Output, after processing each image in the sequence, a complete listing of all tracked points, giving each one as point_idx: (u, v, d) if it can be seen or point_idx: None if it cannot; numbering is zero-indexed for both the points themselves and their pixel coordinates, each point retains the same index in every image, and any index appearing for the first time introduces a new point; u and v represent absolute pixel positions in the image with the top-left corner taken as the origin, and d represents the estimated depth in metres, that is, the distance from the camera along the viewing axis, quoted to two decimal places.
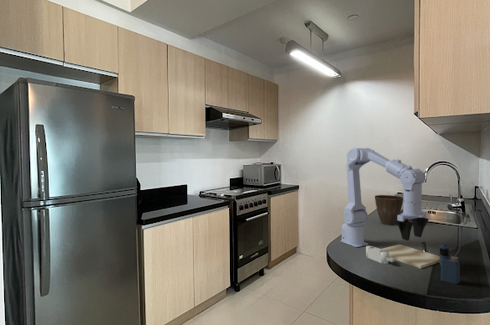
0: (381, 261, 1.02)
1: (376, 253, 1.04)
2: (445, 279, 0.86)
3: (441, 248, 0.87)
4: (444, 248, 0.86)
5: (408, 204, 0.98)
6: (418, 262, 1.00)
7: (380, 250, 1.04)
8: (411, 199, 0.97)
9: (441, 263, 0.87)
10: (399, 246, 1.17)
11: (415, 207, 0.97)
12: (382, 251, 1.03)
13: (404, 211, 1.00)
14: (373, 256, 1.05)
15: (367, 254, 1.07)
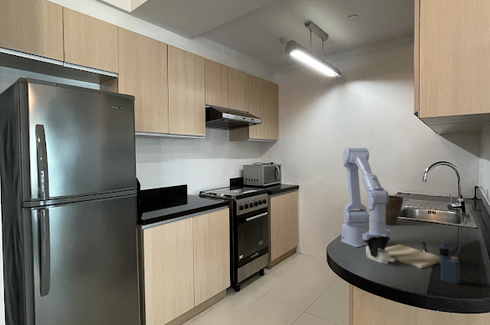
0: (381, 261, 1.02)
1: None
2: (445, 279, 0.86)
3: (441, 248, 0.87)
4: (444, 248, 0.87)
5: (373, 223, 1.03)
6: (418, 262, 1.00)
7: (380, 250, 1.04)
8: (372, 218, 1.04)
9: (441, 263, 0.87)
10: (399, 246, 1.17)
11: (379, 226, 1.02)
12: (382, 251, 1.03)
13: (369, 230, 1.05)
14: (373, 256, 1.05)
15: (367, 254, 1.07)
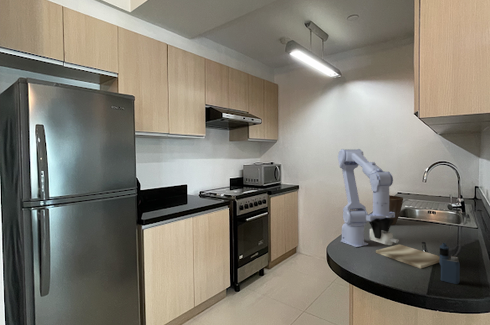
0: (385, 242, 1.02)
1: None
2: (445, 279, 0.86)
3: (441, 248, 0.87)
4: (444, 248, 0.87)
5: (376, 205, 1.04)
6: (418, 262, 1.00)
7: (384, 232, 1.04)
8: (377, 200, 1.04)
9: (441, 263, 0.87)
10: (399, 246, 1.17)
11: (382, 207, 1.02)
12: (386, 233, 1.03)
13: (373, 212, 1.05)
14: (377, 238, 1.05)
15: (371, 236, 1.07)
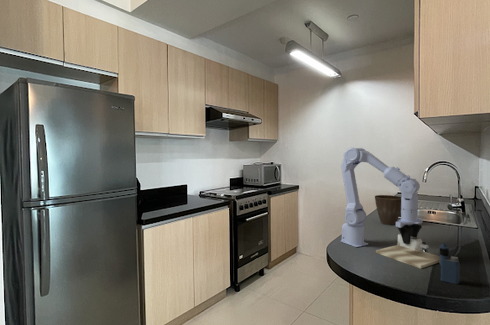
0: (414, 248, 1.05)
1: None
2: (445, 279, 0.86)
3: (441, 248, 0.87)
4: (444, 248, 0.86)
5: (405, 211, 1.06)
6: (418, 262, 1.00)
7: (413, 238, 1.07)
8: (411, 207, 1.05)
9: (441, 263, 0.87)
10: (399, 246, 1.17)
11: (412, 214, 1.05)
12: (415, 238, 1.06)
13: (402, 218, 1.08)
14: (406, 244, 1.08)
15: (400, 242, 1.10)
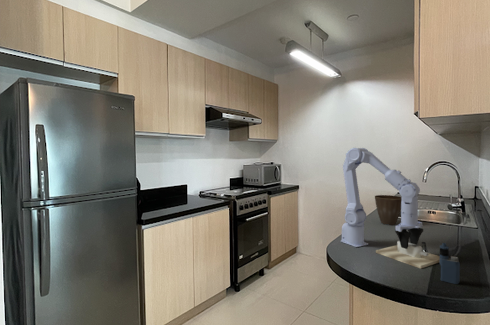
0: (414, 255, 1.05)
1: (409, 247, 1.06)
2: (445, 279, 0.86)
3: (441, 248, 0.87)
4: (444, 248, 0.87)
5: (405, 215, 1.06)
6: (418, 262, 1.00)
7: (413, 245, 1.07)
8: (411, 211, 1.05)
9: (441, 263, 0.87)
10: None
11: (412, 218, 1.05)
12: (415, 246, 1.06)
13: (402, 222, 1.08)
14: (406, 251, 1.08)
15: (399, 249, 1.10)
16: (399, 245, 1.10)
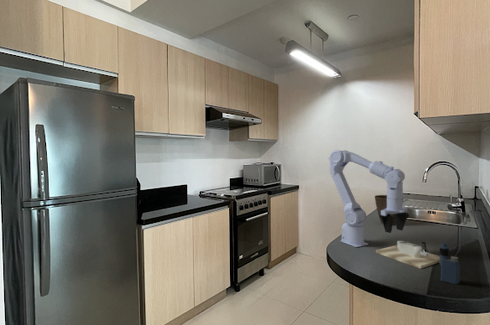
0: (414, 255, 1.05)
1: (409, 247, 1.06)
2: (445, 279, 0.86)
3: (441, 248, 0.87)
4: (444, 248, 0.86)
5: (390, 200, 1.10)
6: (418, 262, 1.00)
7: (413, 245, 1.07)
8: (396, 196, 1.09)
9: (441, 263, 0.87)
10: None
11: (396, 203, 1.09)
12: (415, 246, 1.06)
13: (387, 207, 1.12)
14: (406, 251, 1.08)
15: (399, 249, 1.10)
16: (399, 245, 1.10)
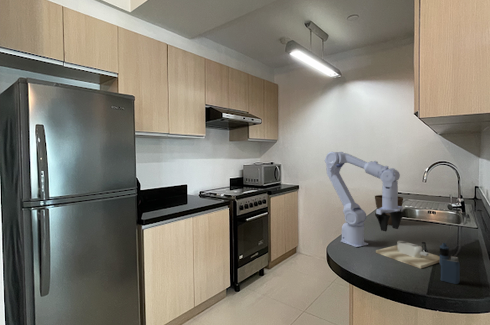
0: (414, 255, 1.05)
1: (409, 247, 1.06)
2: (445, 279, 0.86)
3: (441, 248, 0.87)
4: (444, 248, 0.86)
5: (386, 199, 1.11)
6: (418, 262, 1.00)
7: (413, 245, 1.07)
8: (391, 195, 1.10)
9: (441, 263, 0.87)
10: None
11: (392, 201, 1.10)
12: (415, 246, 1.06)
13: (383, 206, 1.13)
14: (406, 251, 1.08)
15: (399, 249, 1.10)
16: (399, 245, 1.10)
